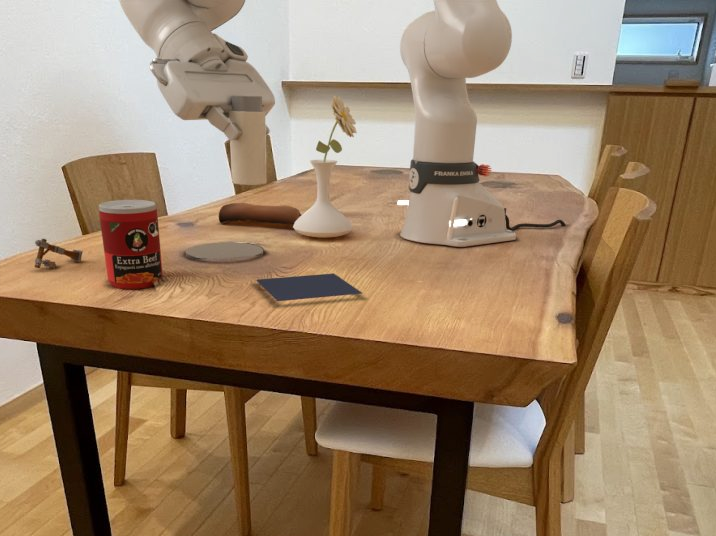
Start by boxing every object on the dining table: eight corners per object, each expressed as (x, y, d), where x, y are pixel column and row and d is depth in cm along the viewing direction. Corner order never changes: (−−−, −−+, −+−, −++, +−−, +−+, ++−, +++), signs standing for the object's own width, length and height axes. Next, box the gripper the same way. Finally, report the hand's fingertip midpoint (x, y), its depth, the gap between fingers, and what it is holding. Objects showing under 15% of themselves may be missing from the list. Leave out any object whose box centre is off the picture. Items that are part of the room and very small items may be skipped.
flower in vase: (323, 244, 120) (325, 95, 110) (280, 235, 127) (278, 93, 117) (369, 235, 129) (375, 95, 119) (327, 226, 136) (329, 94, 126)
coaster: (252, 243, 120) (252, 240, 120) (272, 259, 109) (272, 256, 109) (180, 248, 116) (179, 244, 115) (193, 265, 104) (192, 261, 104)
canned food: (113, 292, 90) (103, 210, 86) (103, 278, 96) (93, 201, 92) (169, 286, 93) (162, 206, 89) (156, 273, 100) (148, 198, 95)
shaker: (261, 180, 102) (259, 95, 98) (270, 184, 98) (269, 96, 93) (228, 181, 101) (224, 95, 96) (236, 185, 96) (232, 95, 91)
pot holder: (333, 278, 99) (333, 273, 98) (362, 298, 89) (362, 293, 89) (255, 284, 95) (255, 279, 94) (277, 306, 85) (277, 300, 85)
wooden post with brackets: (26, 265, 99) (32, 235, 98) (69, 276, 106) (75, 248, 106) (34, 267, 98) (40, 237, 98) (77, 277, 105) (83, 250, 105)
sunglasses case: (313, 221, 139) (308, 195, 133) (304, 243, 135) (298, 218, 129) (235, 215, 143) (227, 190, 138) (224, 237, 139) (215, 212, 134)
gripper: (154, 39, 87) (215, 122, 86) (249, 49, 103) (302, 119, 102) (133, 76, 91) (192, 156, 90) (228, 80, 107) (279, 147, 106)
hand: (251, 136), depth 96 cm, fingers closed on shaker, 5 cm apart
